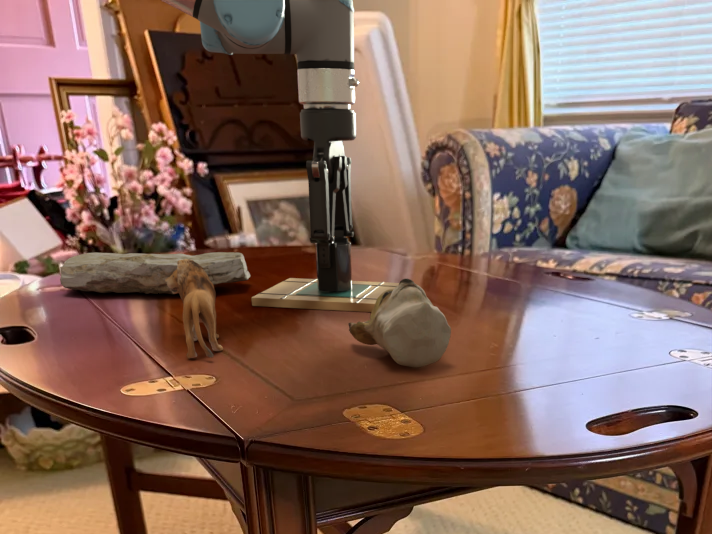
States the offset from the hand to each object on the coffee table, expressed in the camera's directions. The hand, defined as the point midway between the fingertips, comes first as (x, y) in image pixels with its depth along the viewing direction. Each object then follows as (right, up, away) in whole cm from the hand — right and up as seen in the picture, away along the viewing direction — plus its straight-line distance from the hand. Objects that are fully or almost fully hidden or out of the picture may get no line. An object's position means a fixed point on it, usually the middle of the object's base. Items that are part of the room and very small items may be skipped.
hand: (334, 286), depth 113 cm
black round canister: (0, 0, 0) cm, 0 cm away
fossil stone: (-28, +1, +6) cm, 29 cm away
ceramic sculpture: (+10, -17, -27) cm, 34 cm away
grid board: (0, -2, +1) cm, 2 cm away
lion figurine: (-14, -15, -24) cm, 31 cm away
